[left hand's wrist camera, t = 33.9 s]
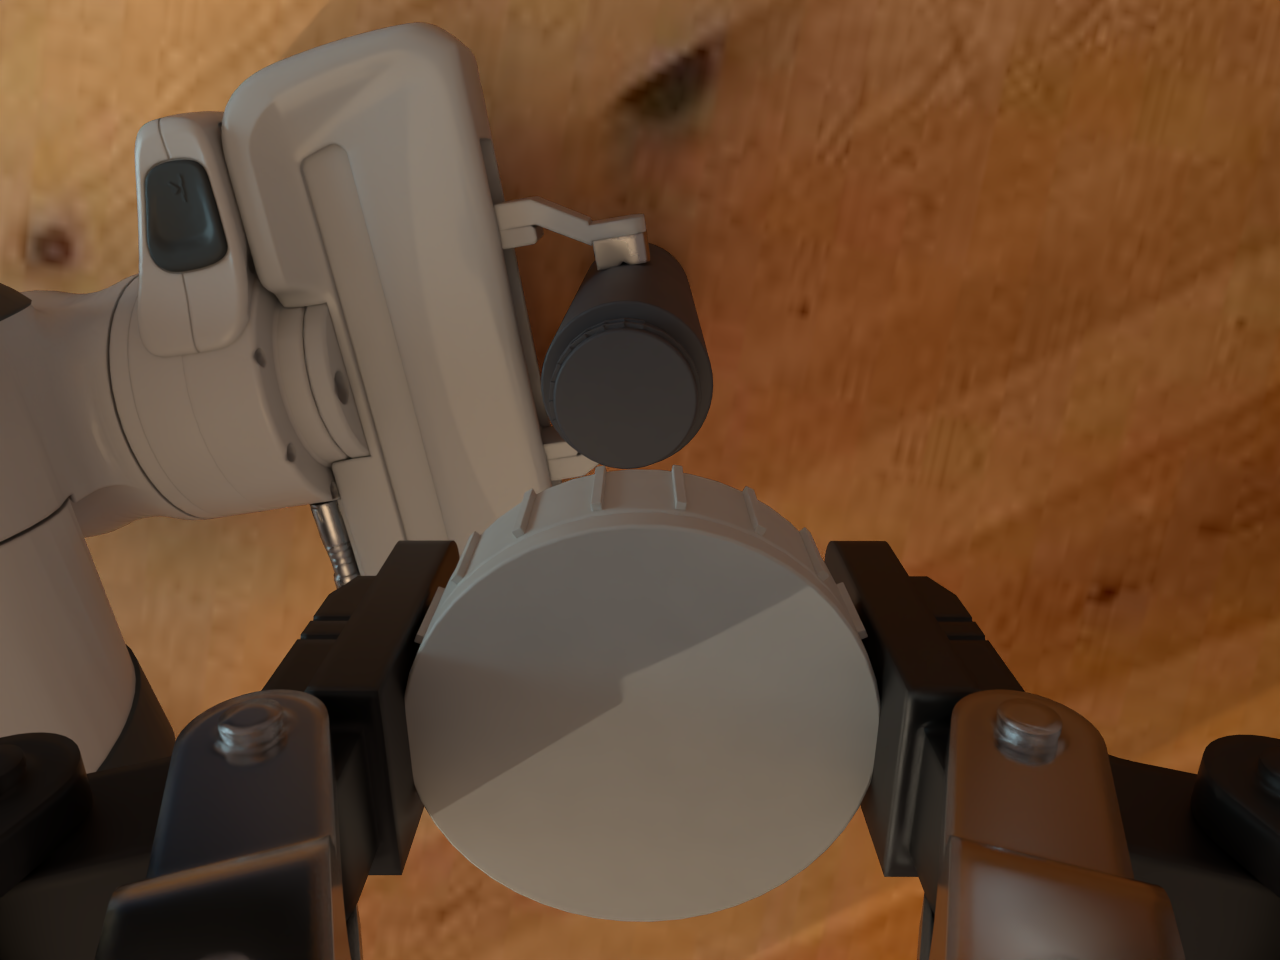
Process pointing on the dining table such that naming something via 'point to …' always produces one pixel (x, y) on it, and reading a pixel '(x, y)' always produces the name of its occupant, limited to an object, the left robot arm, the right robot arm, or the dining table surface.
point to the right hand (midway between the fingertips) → (660, 322)
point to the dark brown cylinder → (629, 365)
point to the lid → (641, 698)
